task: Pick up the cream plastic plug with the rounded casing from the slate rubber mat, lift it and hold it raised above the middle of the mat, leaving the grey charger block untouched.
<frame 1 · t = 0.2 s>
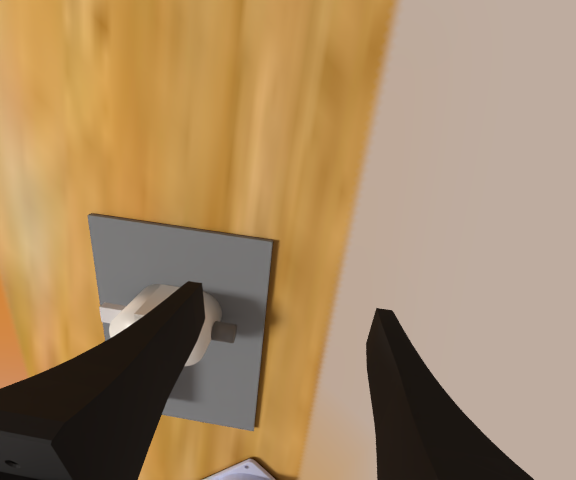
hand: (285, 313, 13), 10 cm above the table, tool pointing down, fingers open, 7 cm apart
mat: (182, 333, 28), on the table
plug: (180, 308, 26), resting on mat
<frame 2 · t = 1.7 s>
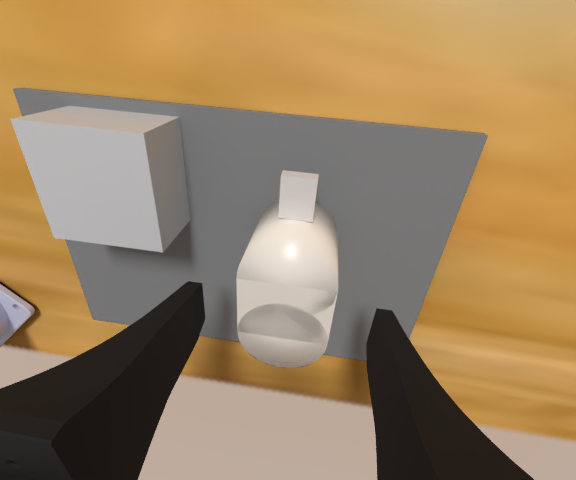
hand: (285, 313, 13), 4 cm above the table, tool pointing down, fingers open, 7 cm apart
mat: (240, 247, 17), on the table
charger: (134, 167, 15), resting on mat
plug: (294, 258, 17), resting on mat
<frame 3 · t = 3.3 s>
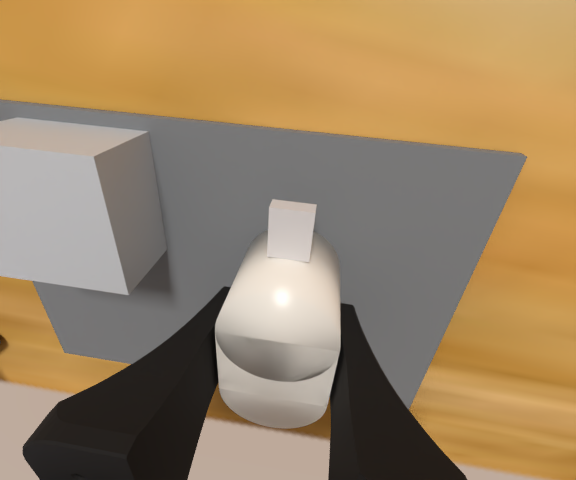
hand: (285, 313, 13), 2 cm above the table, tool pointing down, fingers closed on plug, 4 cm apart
mat: (227, 279, 15), on the table
charger: (98, 189, 13), resting on mat
plug: (289, 294, 14), resting on mat, touching gripper
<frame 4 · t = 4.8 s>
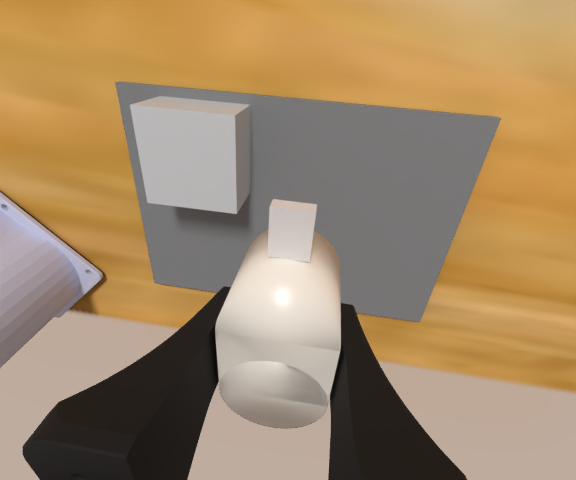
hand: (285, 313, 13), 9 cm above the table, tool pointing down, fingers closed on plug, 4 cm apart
mat: (290, 216, 21), on the table
charger: (208, 146, 19), resting on mat
plug: (289, 294, 14), point 7 cm above the table, touching gripper
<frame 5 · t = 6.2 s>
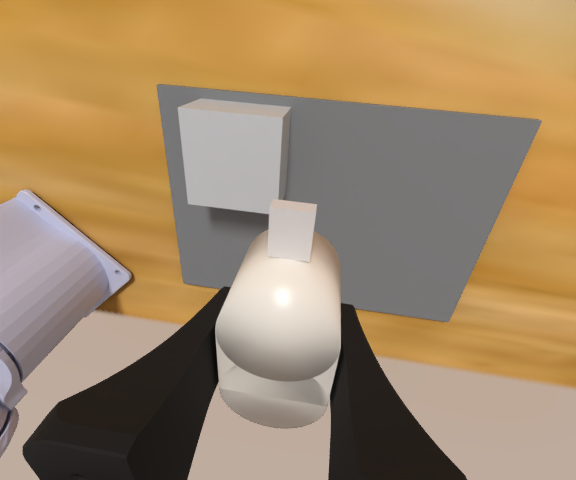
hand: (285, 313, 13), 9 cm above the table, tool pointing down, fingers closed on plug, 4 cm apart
mat: (323, 217, 21), on the table
charger: (245, 148, 19), resting on mat
plug: (289, 294, 14), point 8 cm above the table, touching gripper
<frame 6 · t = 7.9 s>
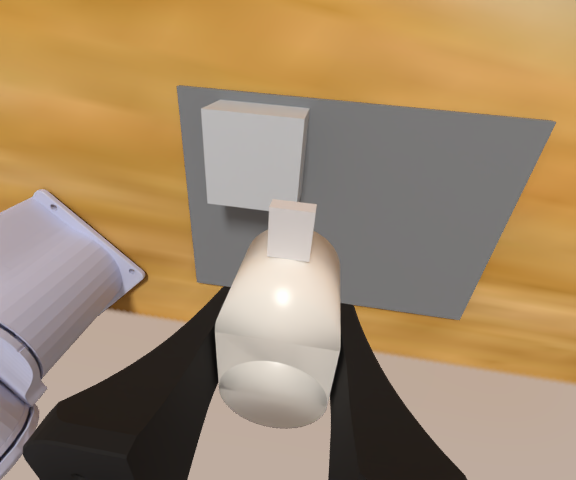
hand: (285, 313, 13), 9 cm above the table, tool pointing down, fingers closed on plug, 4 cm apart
mat: (337, 216, 21), on the table
charger: (263, 148, 19), resting on mat
plug: (289, 294, 14), point 8 cm above the table, touching gripper
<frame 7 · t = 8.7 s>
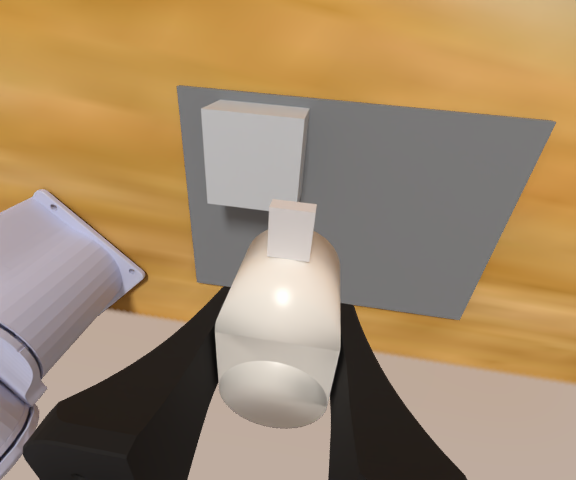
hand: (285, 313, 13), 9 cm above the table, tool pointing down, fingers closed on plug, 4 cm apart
mat: (337, 216, 21), on the table
charger: (263, 148, 19), resting on mat
plug: (289, 294, 14), point 8 cm above the table, touching gripper
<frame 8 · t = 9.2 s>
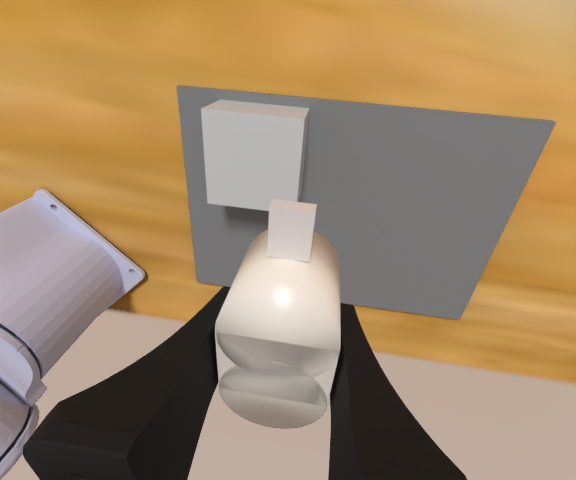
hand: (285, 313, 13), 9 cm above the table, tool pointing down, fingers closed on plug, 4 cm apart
mat: (337, 216, 21), on the table
charger: (263, 148, 19), resting on mat
plug: (289, 294, 14), point 8 cm above the table, touching gripper
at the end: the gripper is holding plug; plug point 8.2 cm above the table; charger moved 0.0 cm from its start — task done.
